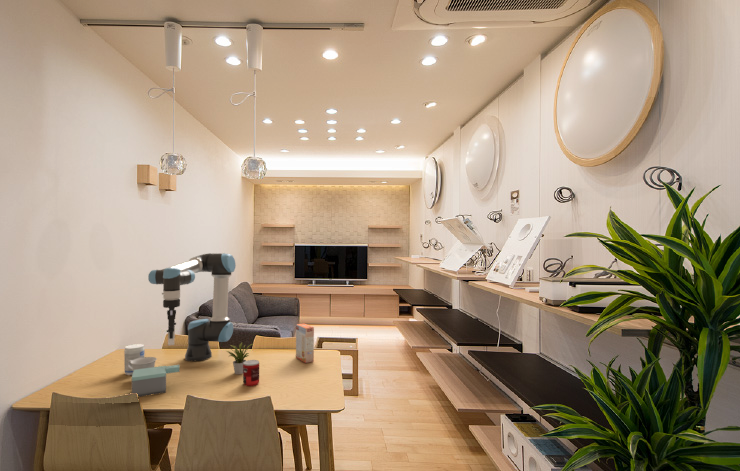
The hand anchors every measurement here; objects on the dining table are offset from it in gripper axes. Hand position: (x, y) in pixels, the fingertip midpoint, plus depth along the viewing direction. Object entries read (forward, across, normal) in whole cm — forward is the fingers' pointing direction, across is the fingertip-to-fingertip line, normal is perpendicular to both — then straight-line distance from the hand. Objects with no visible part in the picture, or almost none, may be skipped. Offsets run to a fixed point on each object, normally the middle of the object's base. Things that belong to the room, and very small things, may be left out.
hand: (171, 341), depth 193 cm
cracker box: (+23, -14, +72) cm, 77 cm away
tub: (+23, 0, -9) cm, 25 cm away
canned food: (+23, +12, +37) cm, 45 cm away
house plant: (+23, -8, +34) cm, 42 cm away
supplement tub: (+23, -33, -19) cm, 44 cm away
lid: (+15, 0, -6) cm, 16 cm away
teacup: (+23, -20, -15) cm, 34 cm away
